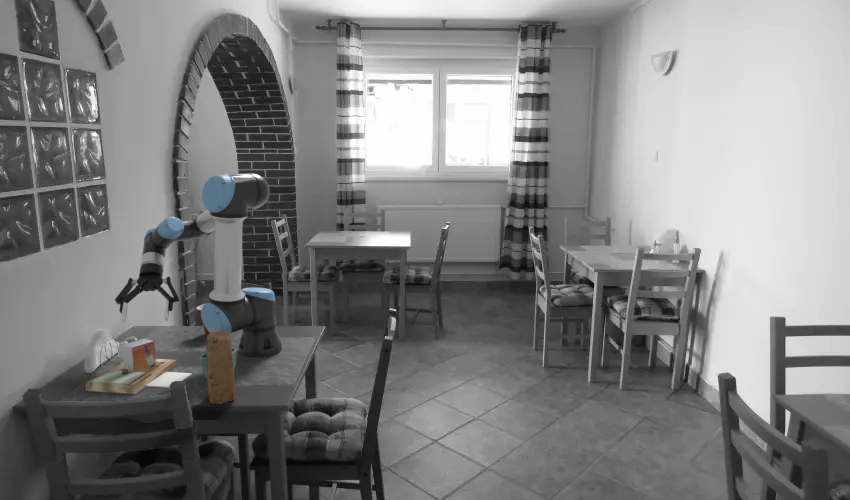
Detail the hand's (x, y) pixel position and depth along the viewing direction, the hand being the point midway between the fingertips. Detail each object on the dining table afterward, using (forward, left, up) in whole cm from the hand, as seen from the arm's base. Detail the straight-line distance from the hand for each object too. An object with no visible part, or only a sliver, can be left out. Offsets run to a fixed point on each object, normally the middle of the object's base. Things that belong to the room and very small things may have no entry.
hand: (144, 320), depth 197 cm
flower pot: (-32, +11, -15) cm, 37 cm away
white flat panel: (-16, +14, -15) cm, 26 cm away
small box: (-4, +10, -15) cm, 19 cm away
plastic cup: (-8, -31, -15) cm, 35 cm away
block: (-39, +24, -15) cm, 48 cm away
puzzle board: (-4, +14, -15) cm, 21 cm away
